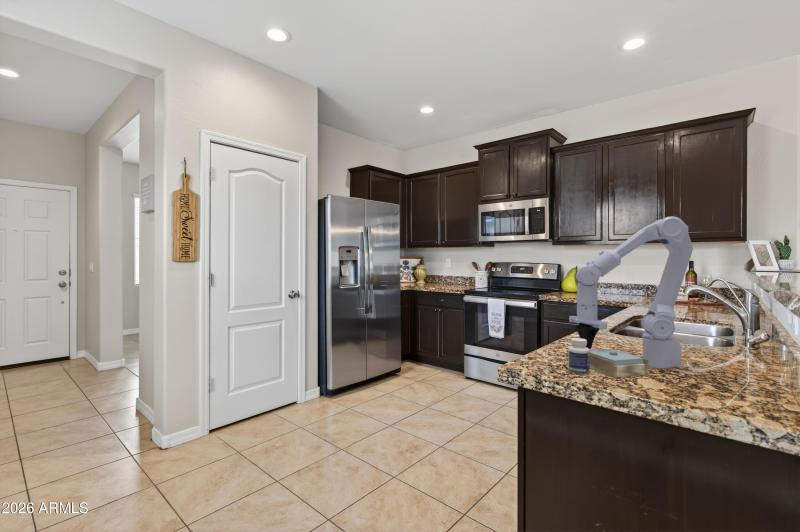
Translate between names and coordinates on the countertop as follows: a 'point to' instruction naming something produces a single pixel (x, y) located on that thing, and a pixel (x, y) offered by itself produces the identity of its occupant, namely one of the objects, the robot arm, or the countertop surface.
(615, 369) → the box
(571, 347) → the pill bottle
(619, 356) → the lid
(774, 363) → the countertop surface
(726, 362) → the countertop surface
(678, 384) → the countertop surface
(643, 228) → the robot arm
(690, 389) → the countertop surface
